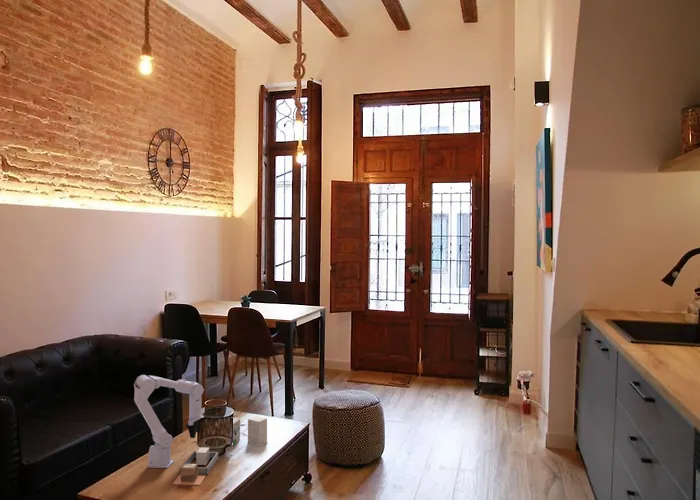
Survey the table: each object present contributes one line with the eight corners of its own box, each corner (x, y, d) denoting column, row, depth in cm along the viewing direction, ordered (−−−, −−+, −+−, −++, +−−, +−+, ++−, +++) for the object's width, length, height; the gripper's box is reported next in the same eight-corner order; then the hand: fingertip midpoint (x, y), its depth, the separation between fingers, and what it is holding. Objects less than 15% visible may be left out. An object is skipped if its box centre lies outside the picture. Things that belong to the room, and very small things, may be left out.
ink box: (233, 446, 280) (233, 423, 279) (224, 445, 281) (224, 422, 280) (240, 439, 288) (240, 417, 288) (231, 439, 289) (231, 416, 289)
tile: (172, 484, 237) (172, 483, 237) (179, 475, 246) (179, 474, 246) (199, 485, 236) (199, 484, 236) (206, 476, 245) (206, 475, 245)
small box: (267, 442, 285) (267, 418, 284) (259, 446, 279) (259, 421, 279) (255, 439, 289) (255, 415, 289) (247, 443, 284) (247, 418, 283)
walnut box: (194, 481, 239) (194, 468, 238) (180, 481, 239) (180, 467, 239) (197, 477, 243) (197, 463, 243) (184, 476, 243) (184, 463, 243)
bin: (180, 473, 247) (180, 467, 247) (193, 457, 265) (193, 451, 265) (207, 474, 247) (207, 468, 247) (218, 458, 265) (218, 452, 265)
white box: (196, 464, 257) (196, 452, 257) (200, 459, 263) (200, 447, 263) (205, 465, 257) (205, 452, 257) (209, 459, 263) (209, 447, 263)
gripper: (198, 412, 259) (198, 440, 259) (207, 402, 273) (207, 429, 274) (184, 412, 259) (184, 440, 260) (194, 402, 274) (193, 429, 274)
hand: (195, 434), depth 267 cm, fingers open, 7 cm apart
